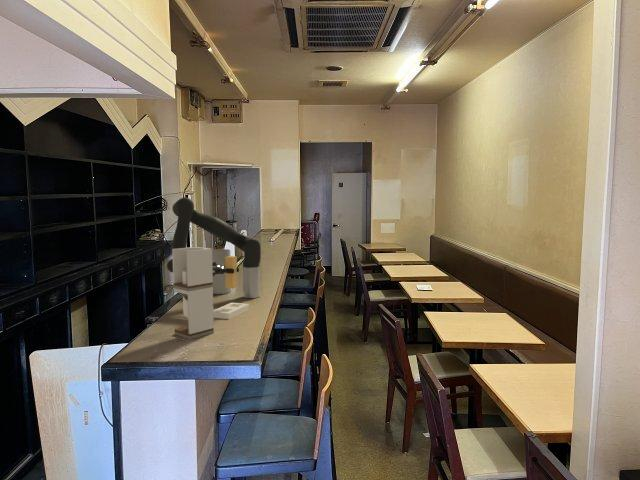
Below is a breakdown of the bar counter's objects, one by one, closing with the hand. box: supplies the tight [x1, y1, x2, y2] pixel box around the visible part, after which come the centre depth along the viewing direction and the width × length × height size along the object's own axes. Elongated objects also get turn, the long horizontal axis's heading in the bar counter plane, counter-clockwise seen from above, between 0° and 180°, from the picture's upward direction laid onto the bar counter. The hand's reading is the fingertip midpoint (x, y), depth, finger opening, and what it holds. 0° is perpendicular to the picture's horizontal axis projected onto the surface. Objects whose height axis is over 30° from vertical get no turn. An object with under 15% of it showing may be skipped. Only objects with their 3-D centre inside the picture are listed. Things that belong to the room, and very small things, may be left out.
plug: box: [225, 255, 238, 290], centre depth 219 cm, size 4×4×15 cm
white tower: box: [171, 246, 215, 340], centre depth 185 cm, size 11×11×35 cm
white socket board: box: [213, 302, 250, 320], centre depth 218 cm, size 20×10×3 cm, turn 162°
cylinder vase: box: [212, 248, 232, 295], centre depth 268 cm, size 12×12×25 cm
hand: (236, 270), depth 218 cm, fingers closed on plug, 4 cm apart
